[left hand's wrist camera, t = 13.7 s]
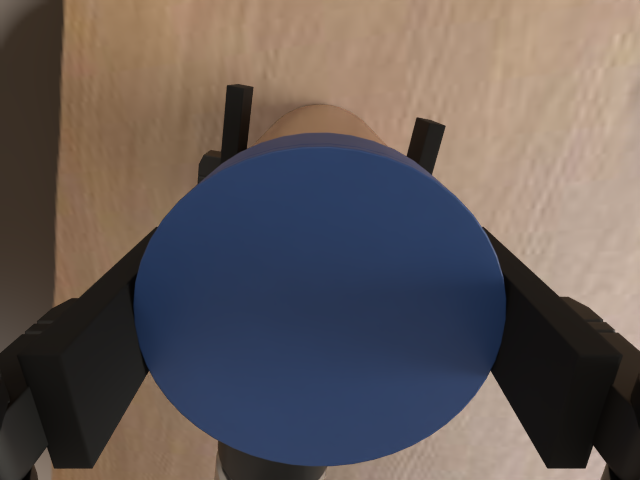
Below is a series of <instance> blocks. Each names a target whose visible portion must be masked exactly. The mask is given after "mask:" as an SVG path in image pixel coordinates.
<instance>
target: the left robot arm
mask: <svg viewBox="0 0 640 480" xmlns="http://www.w3.org/2000/svg"><path fill="white" fill-rule="evenodd" d="M157 228H158V227H156V228H155V229H153V230H152V231H151V232H150V233H149V234H148V235H147V236H146V237H145V238H144V239H143V240H141V241H140V242H139V243H138V244H137V245H136V246H135V247H134V248H133V249H132V250H131V251H130V252H128V253H127V254H126V255H125V256H124V257H123V258H122V259H121V260H120V261H119V262H118V263H116V264H115V265H114V266H113V267H112V268H111V269H110V270H109V271H108V272H107V273H106V274H104V275H103V276H102V277H101V278H100V279H99V280H98V281H97V282H96V283H95V284H94V285H93V286H91V287H90V288H89V289H88V290H87V291H86V292H85V293H84V294H83V295H82V296H81V297H79V298H71V299H69V300H67V301H66V302H64V303H62V304H60V305H58V306H56V307H54V308H52V309H51V310H50V311H48V312H47V313H46V314H45V315H44V316H43V317H41V318H40V319H39V320H38V321H37V324H33V325H32V326H31V327H30V328H29V329H28V330H26V331H25V334H22V335H21V336H20V337H18V338H17V339H16V340H15V341H14V342H13V343H11V344H10V345H9V346H8V347H7V348H6V349H4V350H3V351H2V352H1V353H0V480H38V476H37V472H36V469H35V466H34V464H35V462H36V461H37V460H38V458H39V457H40V456H41V454H42V453H43V451H44V450H45V449H46V447H47V448H48V451H49V454H50V457H51V460H52V463H53V466H54V469H64V468H93V466H94V465H95V463H96V461H97V460H98V458H99V456H100V454H101V453H102V451H103V449H104V447H105V446H106V444H107V442H108V441H109V439H110V437H111V435H112V434H113V432H114V430H115V429H116V427H117V425H118V423H119V422H120V420H121V418H122V416H123V415H124V413H125V411H126V410H127V408H128V406H129V404H130V403H131V401H132V399H133V398H134V396H135V394H136V392H137V391H138V389H139V387H140V385H141V384H142V382H143V380H144V379H145V377H146V375H147V373H148V372H149V369H148V367H147V365H146V363H145V360H144V358H143V355H142V352H141V350H140V347H139V342H138V337H137V332H136V327H135V322H134V307H133V302H134V291H135V282H136V278H137V274H138V270H139V266H140V262H141V259H142V257H143V255H144V252H145V250H146V248H147V245H148V243H149V241H150V239H151V237H152V236H153V234H154V233H155V231H156V229H157ZM482 228H483V230H484V231H485V233H486V234H487V236H488V238H489V240H490V242H491V244H492V246H493V248H494V250H495V252H496V255H497V257H498V261H499V264H500V267H501V271H502V274H503V278H504V286H505V293H506V320H505V326H504V331H503V336H502V341H501V346H500V349H499V352H498V355H497V358H496V360H495V362H494V364H493V366H492V368H491V372H492V374H493V376H494V377H495V379H496V381H497V382H498V384H499V386H500V388H501V389H502V391H503V393H504V395H505V396H506V398H507V400H508V401H509V403H510V405H511V407H512V408H513V410H514V412H515V413H516V415H517V417H518V419H519V420H520V422H521V424H522V426H523V427H524V429H525V431H526V432H527V434H528V436H529V438H530V439H531V441H532V443H533V444H534V446H535V448H536V450H537V451H538V453H539V455H540V457H541V458H542V460H543V462H544V463H545V465H546V467H547V468H586V466H587V463H588V460H589V457H590V454H591V450H592V447H593V445H594V447H595V448H596V450H597V451H598V452H599V454H600V455H601V456H602V458H603V459H604V460H605V462H606V466H605V469H604V472H603V475H602V477H601V480H640V351H639V350H638V349H637V348H635V347H634V346H633V345H632V344H631V343H630V342H628V341H627V340H626V339H625V338H624V337H623V336H621V335H620V334H619V333H615V330H614V329H613V328H612V327H611V326H610V325H609V324H607V323H606V322H603V319H602V318H600V317H599V316H598V315H597V314H596V313H595V312H593V311H592V310H591V309H590V308H589V307H587V306H585V305H583V304H581V303H579V302H577V301H575V300H573V299H572V298H570V297H559V296H558V295H557V294H556V293H555V292H554V291H553V290H552V289H550V288H549V287H548V286H547V285H546V284H545V283H544V282H543V281H542V280H541V279H540V278H539V277H537V276H536V275H535V274H534V273H533V272H532V271H531V270H530V269H529V268H528V267H527V266H525V265H524V264H523V263H522V262H521V261H520V260H519V259H518V258H517V257H516V256H515V255H513V254H512V253H511V252H510V251H509V250H508V249H507V248H506V247H505V246H504V245H503V244H502V243H500V242H499V241H498V240H497V239H496V238H495V237H494V236H493V235H492V234H491V233H490V232H488V231H487V230H486V229H485V228H484V227H482Z"/></svg>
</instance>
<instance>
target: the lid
mask: <svg viewBox="0 0 640 480" xmlns="http://www.w3.org/2000/svg"><path fill="white" fill-rule="evenodd" d="M133 307H134V322H135V327H136V332H137V337H138V342H139V347H140V350H141V352H142V355H143V358H144V360H145V363H146V365H147V367H148V369H149V371H150V373H151V375H152V377H153V378H154V380H155V382H156V384H157V385H158V386H159V388H160V389H161V390H162V392H163V393H164V395H165V396H166V397H167V399H168V400H169V401H170V402H171V403H172V404H173V405H174V406H175V407H176V408H177V409H178V411H179V412H180V413H181V414H182V415H184V416H185V417H186V418H187V419H188V420H189V421H191V422H192V423H193V424H194V425H195V426H197V427H198V428H199V429H201V430H202V431H204V432H205V433H207V434H208V435H210V436H212V437H213V438H215V439H217V440H218V441H220V442H222V443H224V444H226V445H228V446H230V447H232V448H234V449H237V450H239V451H242V452H244V453H247V454H250V455H252V456H256V457H259V458H263V459H266V460H270V461H275V462H280V463H286V464H291V465H303V466H338V465H347V464H355V463H360V462H365V461H369V460H374V459H377V458H381V457H384V456H387V455H390V454H393V453H396V452H398V451H400V450H403V449H405V448H407V447H410V446H412V445H414V444H416V443H418V442H419V441H421V440H423V439H425V438H427V437H428V436H430V435H432V434H433V433H434V432H436V431H437V430H439V429H440V428H441V427H443V426H444V425H446V424H447V423H448V422H449V421H450V420H452V419H453V418H454V417H455V416H456V415H457V414H458V413H459V412H460V411H462V410H463V408H464V407H465V406H466V405H467V404H468V403H469V402H470V400H471V399H472V398H473V397H474V396H475V395H476V393H477V392H478V390H479V389H480V387H481V386H482V384H483V383H484V381H485V380H486V378H487V376H488V374H489V372H490V370H491V368H492V366H493V364H494V362H495V360H496V358H497V355H498V352H499V349H500V346H501V341H502V336H503V331H504V326H505V320H506V293H505V286H504V278H503V274H502V271H501V267H500V264H499V261H498V257H497V255H496V252H495V250H494V248H493V246H492V244H491V242H490V240H489V238H488V236H487V234H486V233H485V231H484V230H483V228H482V227H481V225H480V224H479V222H478V221H477V220H476V218H475V217H474V215H473V214H472V213H471V212H470V211H469V210H468V209H467V208H466V207H465V205H464V204H463V203H462V202H461V201H460V200H459V199H458V198H457V197H456V196H455V195H454V194H453V193H451V192H450V191H449V190H448V189H447V188H446V187H445V186H444V185H442V184H441V183H440V182H439V181H438V180H437V179H436V178H434V177H433V176H432V175H431V174H430V173H429V172H427V171H426V170H425V169H424V168H422V167H421V166H420V165H419V164H417V163H416V162H415V161H413V160H412V159H410V158H408V157H407V156H405V155H403V154H401V153H400V152H398V151H396V150H395V149H392V148H390V147H387V146H385V145H382V144H380V143H377V142H375V141H372V140H368V139H364V138H360V137H356V136H353V135H345V134H337V133H302V134H295V135H288V136H282V137H279V138H275V139H272V140H269V141H265V142H262V143H259V144H257V145H255V146H253V147H250V148H248V149H246V150H244V151H242V152H240V153H238V154H236V155H235V156H233V157H232V158H230V159H228V160H227V161H225V162H224V163H222V164H221V165H220V166H218V167H217V168H216V169H215V170H214V171H213V172H211V173H210V174H209V175H208V176H207V177H206V178H204V179H203V180H202V181H201V182H200V183H199V184H198V185H197V186H195V187H194V188H193V189H192V190H191V191H190V192H189V193H187V194H186V195H185V196H184V197H183V198H182V199H181V200H180V201H179V202H178V203H177V204H176V205H175V206H174V207H173V208H172V210H171V211H170V212H169V213H168V214H167V215H166V216H165V218H164V219H163V220H162V222H161V223H160V225H159V226H158V228H157V229H156V231H155V233H154V234H153V236H152V237H151V239H150V241H149V243H148V245H147V248H146V250H145V252H144V255H143V257H142V259H141V262H140V266H139V270H138V274H137V278H136V282H135V291H134V302H133Z"/></svg>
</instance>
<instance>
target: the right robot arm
mask: <svg viewBox="0 0 640 480" xmlns="http://www.w3.org/2000/svg"><path fill="white" fill-rule="evenodd" d="M252 95H253V87H251V86H245V85H240V84H235V85H227V92H226V103H225V115H224V127H223V138H222V150H221V152H219V151H213V150H210V151H209V152H207V153H206V154H204V156H203V157H202V159H201V161H200V163H199V171H198V184H199V183H200V182H201V181H202V180H203V179H204V178H206V177H207V176H208V175H209V174H210V173H211V172H213V171H214V170H215V169H216V168H217V167H218V166H220V165H221V164H222V163H224V162H225V161H227V160H228V159H230V158H232V157H233V156H235V155H236V154H238V153H240V152H242V151H244V150H246V149H247V141H248V132H249V123H250V114H251V104H252ZM444 130H445V125H442V124H440V123H437V122H434V121H432V120H428V119H422V118H416V122H415V126H414V130H413V134H412V138H411V141H410V145H409V149H408V153H407V157H408V158H410V159H412V160H413V161H415V162H416V163H417V164H419V165H420V166H421V167H422V168H424V169H425V170H426V171H427V172H429V173H430V174H431V175H432V173H433V169H434V165H435V162H436V158H437V155H438V151H439V148H440V144H441V141H442V137H443V133H444ZM326 468H327V466H303V465H291V464H286V463H280V462H275V461H270V460H266V459H263V458H259V457H256V456H252V455H250V454H247V453H244V452H242V451H239V450H237V449H234V448H232V447H230V446H228V445H226V444H224V443H222V442H220V441H218V452H217V455H216V465H215V476H214V480H324V479H325V475H326Z"/></svg>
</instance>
